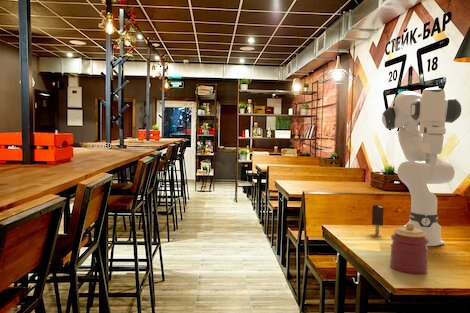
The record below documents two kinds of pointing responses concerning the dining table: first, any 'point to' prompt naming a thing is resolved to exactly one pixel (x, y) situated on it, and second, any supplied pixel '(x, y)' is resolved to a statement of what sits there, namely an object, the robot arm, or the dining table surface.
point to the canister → (409, 250)
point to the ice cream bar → (377, 217)
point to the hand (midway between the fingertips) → (430, 164)
